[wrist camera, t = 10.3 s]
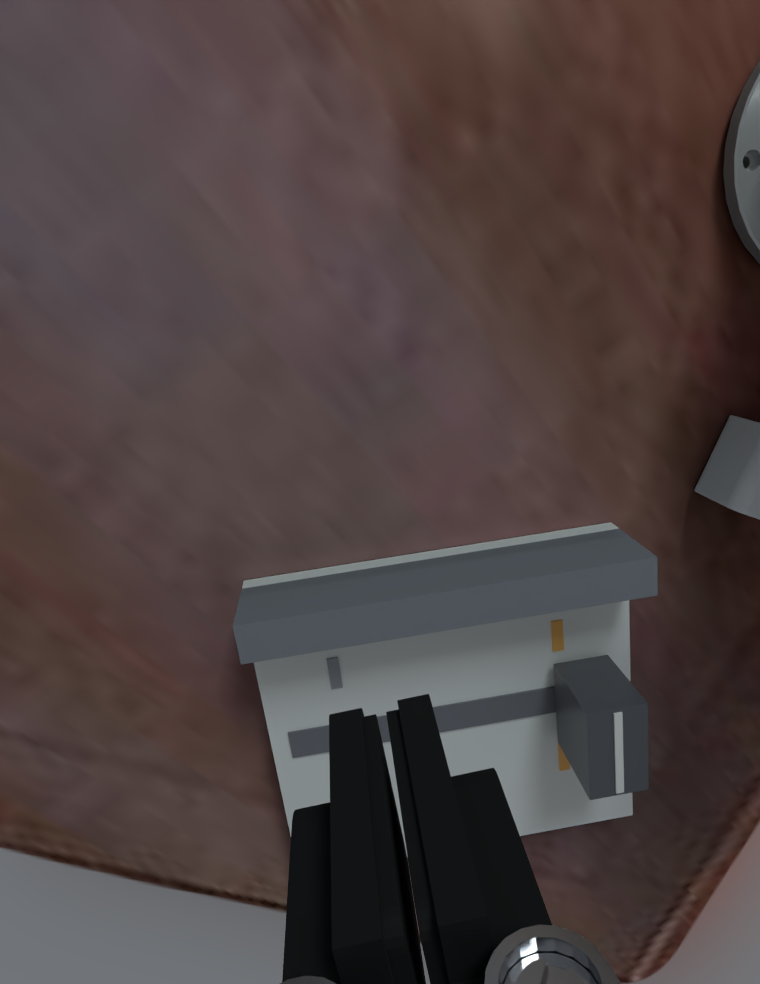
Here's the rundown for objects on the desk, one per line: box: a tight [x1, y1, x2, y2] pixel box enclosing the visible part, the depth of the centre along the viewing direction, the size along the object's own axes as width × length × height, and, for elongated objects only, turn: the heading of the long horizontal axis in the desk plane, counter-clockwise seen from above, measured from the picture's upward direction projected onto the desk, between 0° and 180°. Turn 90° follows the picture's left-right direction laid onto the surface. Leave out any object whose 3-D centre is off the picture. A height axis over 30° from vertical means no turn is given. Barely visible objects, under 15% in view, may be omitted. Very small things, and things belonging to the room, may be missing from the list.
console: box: [233, 522, 658, 857], centre depth 35 cm, size 20×18×5 cm
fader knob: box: [553, 655, 649, 800], centre depth 33 cm, size 3×5×4 cm, turn 8°
